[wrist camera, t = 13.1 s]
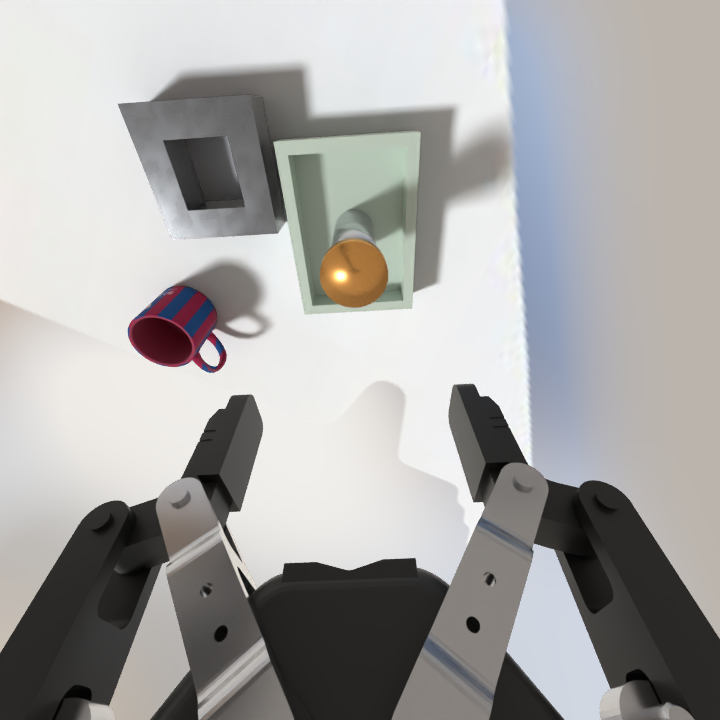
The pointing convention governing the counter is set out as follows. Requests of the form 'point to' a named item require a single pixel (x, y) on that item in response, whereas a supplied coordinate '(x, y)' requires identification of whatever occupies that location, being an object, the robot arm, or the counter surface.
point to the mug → (176, 329)
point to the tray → (352, 206)
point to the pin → (354, 262)
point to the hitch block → (176, 172)
